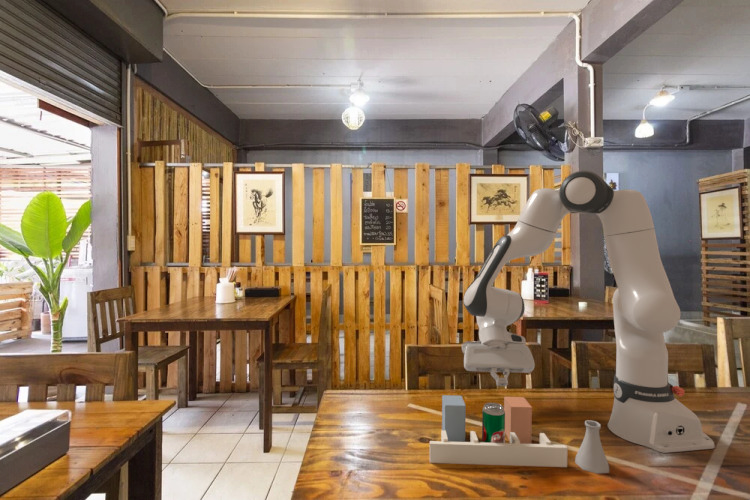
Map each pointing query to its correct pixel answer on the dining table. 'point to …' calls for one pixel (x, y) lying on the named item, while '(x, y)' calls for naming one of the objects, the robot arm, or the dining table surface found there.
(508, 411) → the salmon pink brick
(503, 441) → the soda can
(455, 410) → the slate blue upright block
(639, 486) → the dining table surface
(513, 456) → the tray
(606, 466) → the flask
